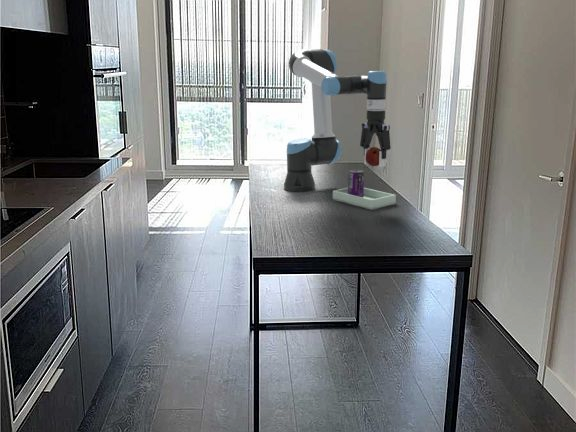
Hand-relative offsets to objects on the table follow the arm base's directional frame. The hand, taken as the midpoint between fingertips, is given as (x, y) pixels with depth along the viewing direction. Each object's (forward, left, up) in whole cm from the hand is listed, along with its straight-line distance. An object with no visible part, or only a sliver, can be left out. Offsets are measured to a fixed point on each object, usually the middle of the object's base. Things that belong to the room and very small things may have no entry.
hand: (374, 165), depth 235 cm
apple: (0, 0, -1) cm, 1 cm away
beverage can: (-11, +1, -16) cm, 20 cm away
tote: (-6, 0, -17) cm, 18 cm away
